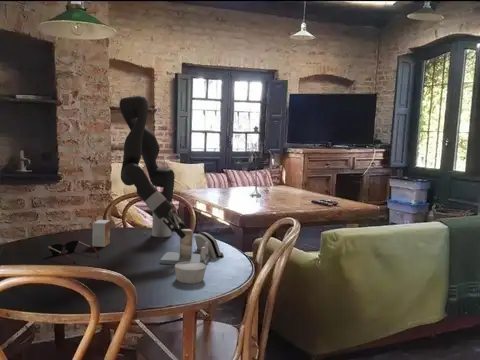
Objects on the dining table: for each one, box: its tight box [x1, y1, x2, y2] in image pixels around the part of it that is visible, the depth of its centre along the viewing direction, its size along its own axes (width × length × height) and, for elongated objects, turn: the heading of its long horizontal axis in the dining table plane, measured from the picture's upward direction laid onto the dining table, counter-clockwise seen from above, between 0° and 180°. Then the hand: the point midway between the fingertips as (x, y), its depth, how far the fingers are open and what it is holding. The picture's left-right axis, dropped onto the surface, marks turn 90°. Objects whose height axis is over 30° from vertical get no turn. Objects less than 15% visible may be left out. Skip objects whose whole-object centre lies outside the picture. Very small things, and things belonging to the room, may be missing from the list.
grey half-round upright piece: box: [193, 231, 225, 259], centre depth 201 cm, size 17×5×10 cm, turn 30°
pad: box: [159, 242, 211, 266], centre depth 187 cm, size 12×18×7 cm, turn 86°
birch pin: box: [179, 228, 194, 259], centre depth 187 cm, size 5×5×11 cm
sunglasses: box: [47, 239, 100, 264], centre depth 185 cm, size 14×16×5 cm
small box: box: [91, 219, 111, 248], centre depth 205 cm, size 8×6×10 cm
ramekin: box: [174, 262, 207, 284], centre depth 164 cm, size 11×11×5 cm
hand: (186, 234), depth 186 cm, fingers open, 8 cm apart
